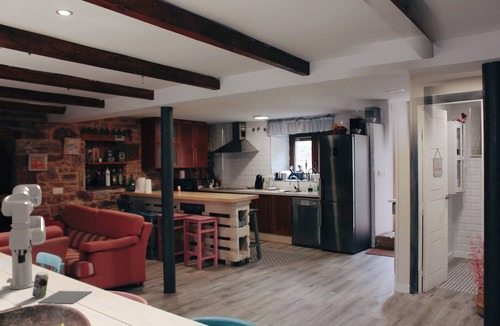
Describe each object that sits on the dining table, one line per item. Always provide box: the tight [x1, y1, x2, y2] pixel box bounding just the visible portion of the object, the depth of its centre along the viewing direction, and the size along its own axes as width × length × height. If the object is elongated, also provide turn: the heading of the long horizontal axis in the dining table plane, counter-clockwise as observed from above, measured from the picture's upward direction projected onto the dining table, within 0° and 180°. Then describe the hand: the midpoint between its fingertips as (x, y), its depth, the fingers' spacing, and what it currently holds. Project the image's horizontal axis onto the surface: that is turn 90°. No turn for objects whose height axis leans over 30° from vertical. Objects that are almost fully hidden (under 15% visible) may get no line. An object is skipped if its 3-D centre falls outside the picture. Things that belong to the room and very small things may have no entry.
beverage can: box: [31, 271, 49, 299], centre depth 208 cm, size 6×7×12 cm
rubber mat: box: [37, 290, 93, 305], centre depth 206 cm, size 18×18×1 cm
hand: (21, 262), depth 209 cm, fingers closed
